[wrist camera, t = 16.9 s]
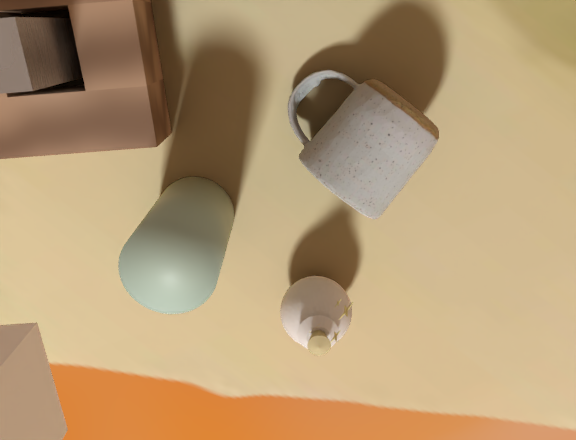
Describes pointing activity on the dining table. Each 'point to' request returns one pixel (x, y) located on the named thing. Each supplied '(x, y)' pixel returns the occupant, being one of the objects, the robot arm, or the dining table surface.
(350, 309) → the ornament
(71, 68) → the square peg
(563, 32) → the dining table surface
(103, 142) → the socket block
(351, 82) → the ceramic mug
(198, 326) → the dining table surface
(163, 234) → the round peg
